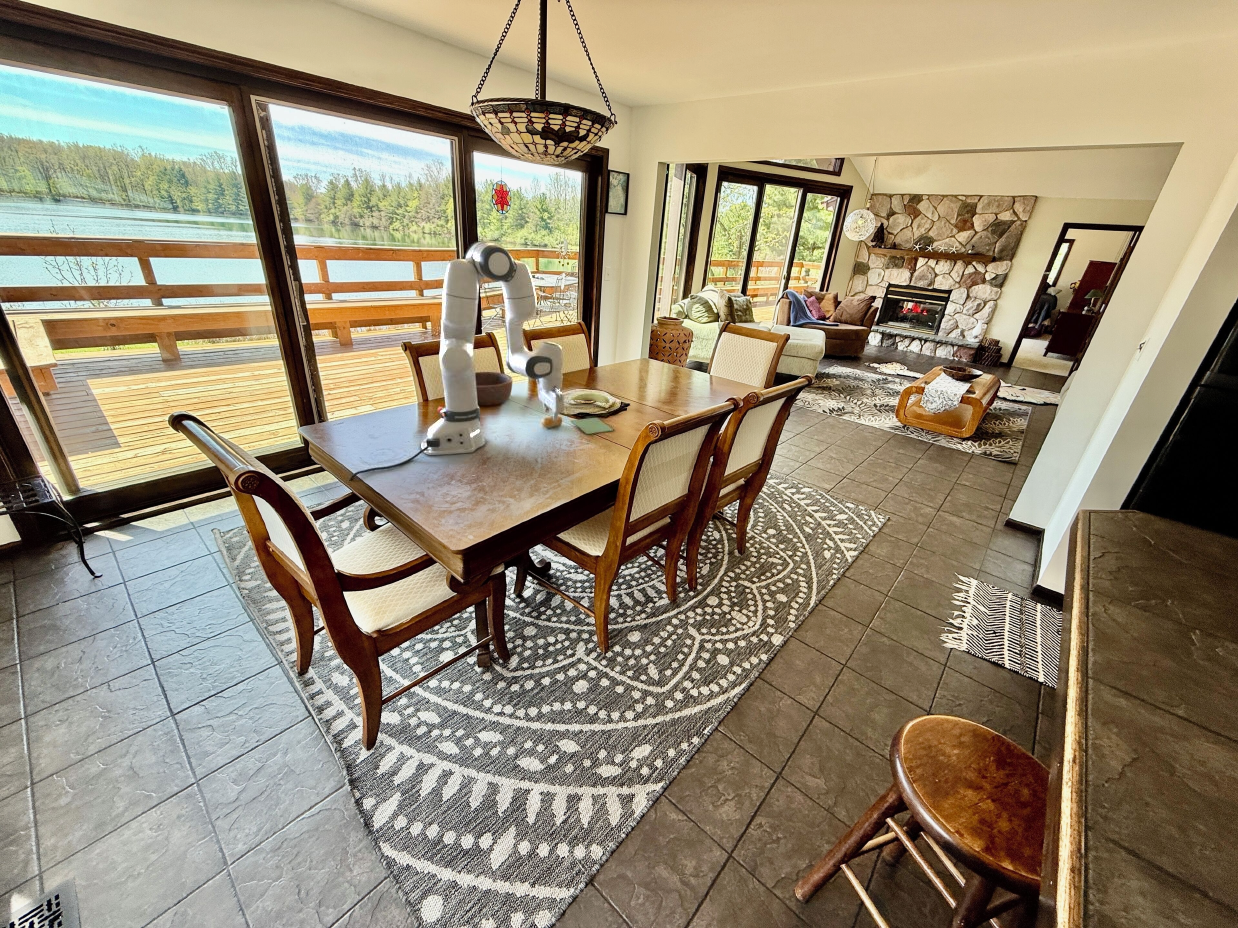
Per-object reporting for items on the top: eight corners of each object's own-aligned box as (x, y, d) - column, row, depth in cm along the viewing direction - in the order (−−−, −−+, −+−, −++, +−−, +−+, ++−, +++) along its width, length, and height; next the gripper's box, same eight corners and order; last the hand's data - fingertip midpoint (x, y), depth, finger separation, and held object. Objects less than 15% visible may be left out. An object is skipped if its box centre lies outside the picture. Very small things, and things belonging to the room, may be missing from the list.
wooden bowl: (463, 391, 235) (461, 371, 231) (515, 392, 238) (514, 372, 234) (453, 408, 213) (451, 386, 209) (510, 409, 216) (509, 387, 211)
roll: (546, 427, 194) (543, 417, 193) (541, 430, 197) (538, 419, 197) (565, 423, 199) (562, 413, 199) (560, 425, 202) (557, 415, 202)
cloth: (586, 434, 193) (586, 433, 193) (571, 421, 206) (571, 420, 205) (613, 430, 198) (613, 430, 198) (597, 418, 211) (597, 417, 211)
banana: (588, 385, 230) (617, 400, 218) (590, 394, 234) (617, 410, 222) (566, 396, 223) (594, 413, 212) (568, 406, 227) (595, 423, 215)
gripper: (568, 390, 184) (567, 424, 189) (549, 376, 200) (549, 407, 205) (553, 391, 181) (552, 425, 187) (534, 377, 197) (535, 409, 203)
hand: (550, 416), depth 196 cm, fingers open, 8 cm apart
